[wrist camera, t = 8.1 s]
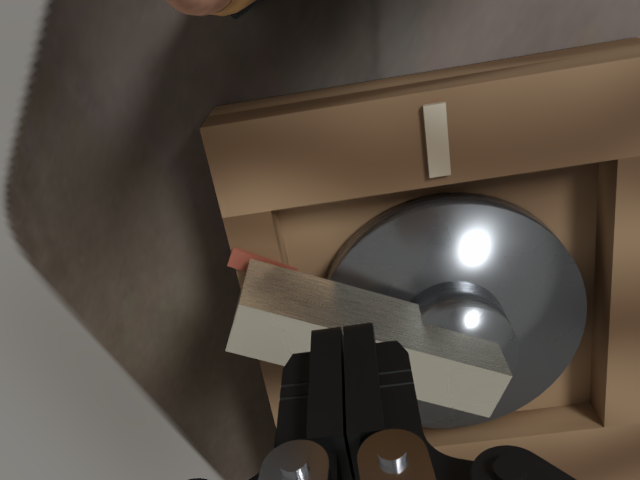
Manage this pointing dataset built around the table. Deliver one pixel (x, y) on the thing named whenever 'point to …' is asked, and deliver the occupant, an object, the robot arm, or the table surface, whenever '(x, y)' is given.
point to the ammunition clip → (214, 7)
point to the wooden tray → (474, 177)
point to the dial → (435, 303)
